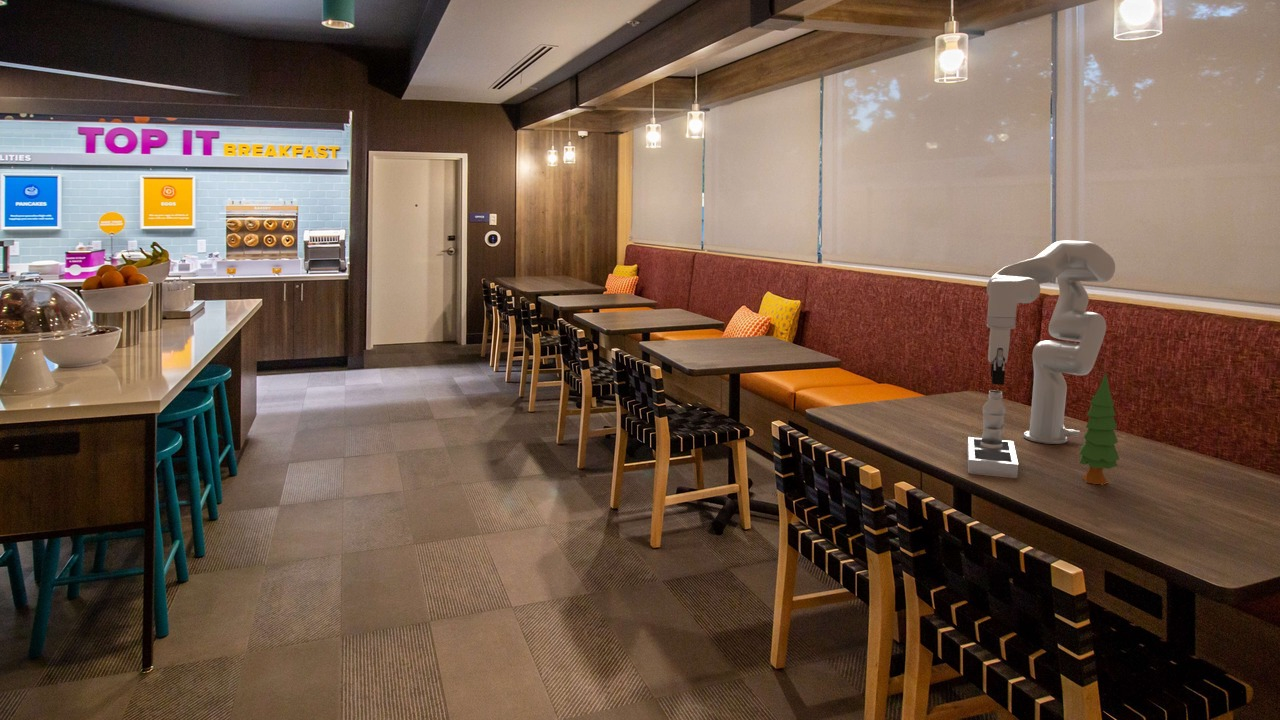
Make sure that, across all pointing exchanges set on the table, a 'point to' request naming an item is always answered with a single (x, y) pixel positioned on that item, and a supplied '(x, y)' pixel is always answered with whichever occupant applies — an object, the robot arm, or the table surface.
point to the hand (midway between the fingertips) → (997, 380)
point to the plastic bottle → (993, 421)
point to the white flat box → (992, 459)
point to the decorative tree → (1100, 436)
